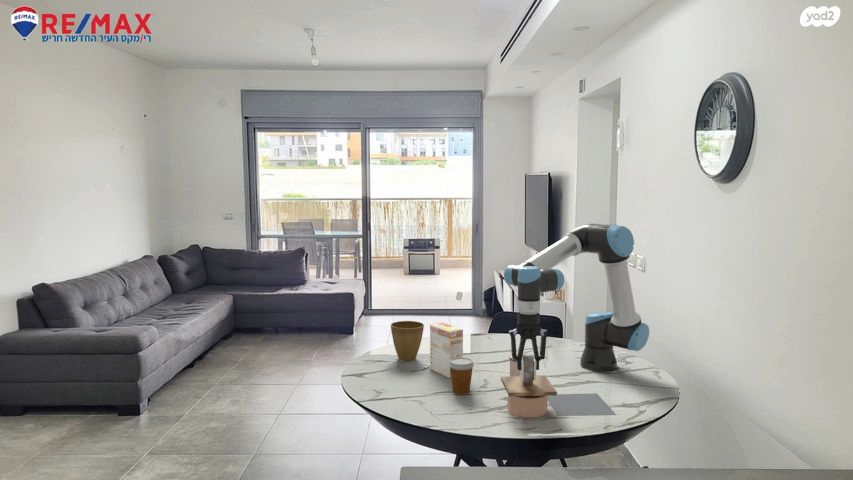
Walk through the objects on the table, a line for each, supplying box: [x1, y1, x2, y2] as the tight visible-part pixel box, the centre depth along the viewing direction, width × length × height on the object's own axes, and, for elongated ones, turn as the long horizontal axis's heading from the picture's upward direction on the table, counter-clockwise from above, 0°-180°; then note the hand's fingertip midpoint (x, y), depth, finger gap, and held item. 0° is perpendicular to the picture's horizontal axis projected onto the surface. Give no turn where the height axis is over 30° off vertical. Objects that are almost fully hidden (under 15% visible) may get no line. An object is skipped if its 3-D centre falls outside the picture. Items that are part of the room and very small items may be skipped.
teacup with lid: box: [508, 351, 527, 377], centre depth 237 cm, size 12×9×12 cm
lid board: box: [500, 353, 558, 396], centre depth 201 cm, size 16×16×11 cm
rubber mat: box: [548, 392, 617, 417], centre depth 207 cm, size 20×20×1 cm
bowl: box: [507, 394, 549, 418], centre depth 202 cm, size 13×13×7 cm
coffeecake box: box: [429, 322, 464, 379], centre depth 243 cm, size 15×7×20 cm, turn 32°
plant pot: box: [390, 320, 425, 363], centre depth 262 cm, size 15×15×16 cm
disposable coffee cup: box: [449, 357, 475, 395], centre depth 221 cm, size 10×10×12 cm
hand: (527, 378), depth 201 cm, fingers closed on lid board, 3 cm apart
